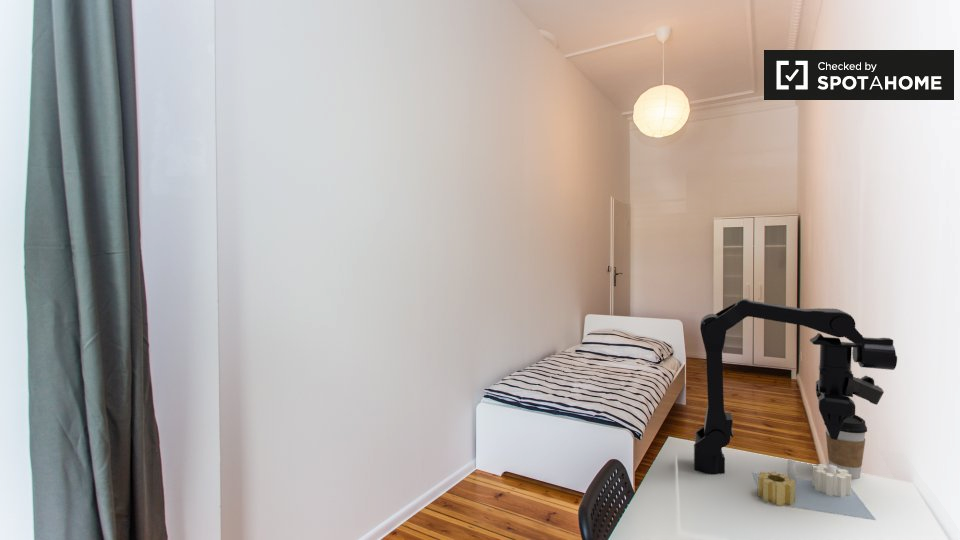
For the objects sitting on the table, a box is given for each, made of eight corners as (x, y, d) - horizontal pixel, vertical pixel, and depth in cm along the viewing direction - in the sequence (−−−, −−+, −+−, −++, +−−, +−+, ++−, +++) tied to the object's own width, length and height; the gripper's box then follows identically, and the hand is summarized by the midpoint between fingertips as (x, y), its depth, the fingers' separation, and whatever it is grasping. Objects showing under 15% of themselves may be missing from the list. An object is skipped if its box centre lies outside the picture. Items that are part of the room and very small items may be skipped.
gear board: (763, 506, 104) (763, 477, 104) (751, 475, 118) (752, 450, 118) (876, 523, 97) (876, 493, 97) (849, 489, 111) (850, 462, 111)
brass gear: (760, 502, 104) (761, 483, 104) (755, 487, 111) (755, 469, 111) (798, 508, 102) (798, 488, 102) (790, 493, 108) (790, 473, 108)
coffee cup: (851, 469, 121) (852, 410, 121) (875, 485, 113) (876, 422, 112) (815, 468, 122) (816, 410, 121) (837, 484, 114) (838, 421, 113)
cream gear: (827, 497, 106) (828, 478, 106) (805, 482, 113) (805, 464, 113) (858, 497, 106) (859, 477, 106) (834, 481, 113) (835, 463, 113)
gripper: (888, 379, 96) (885, 455, 97) (874, 361, 112) (872, 426, 113) (820, 372, 102) (817, 443, 103) (816, 355, 118) (814, 417, 119)
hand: (832, 432), depth 109 cm, fingers open, 9 cm apart
